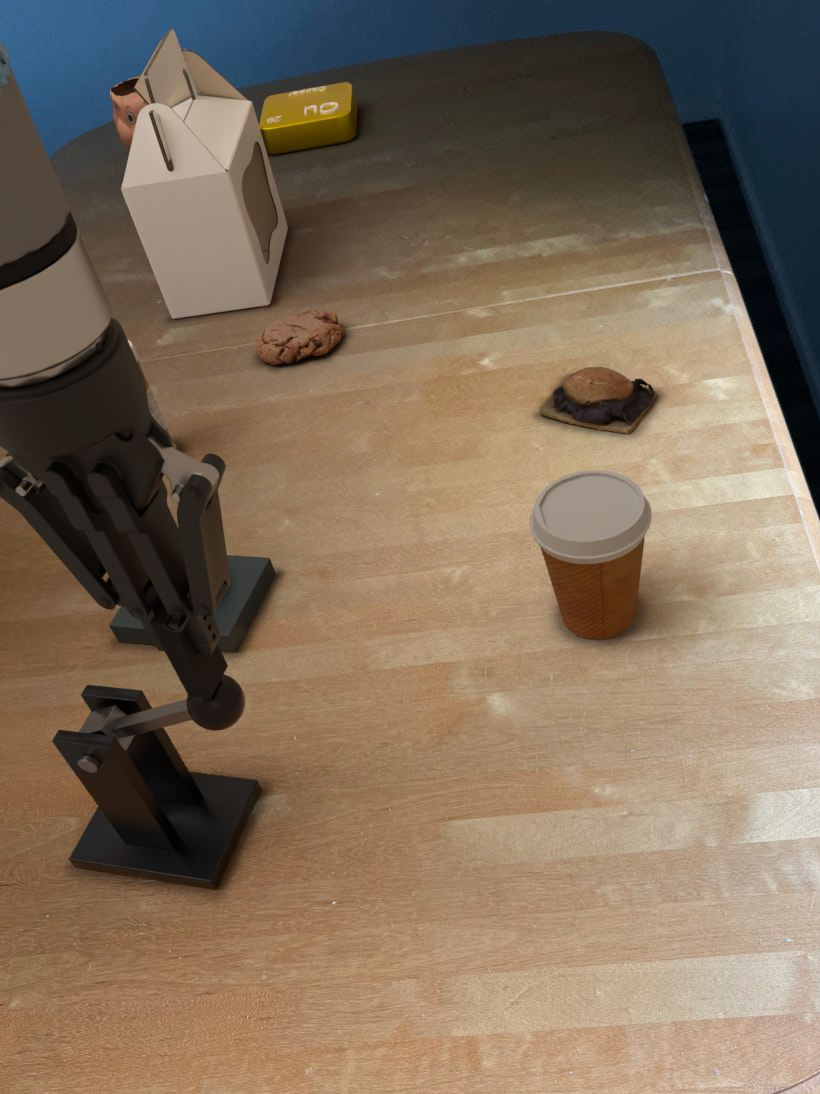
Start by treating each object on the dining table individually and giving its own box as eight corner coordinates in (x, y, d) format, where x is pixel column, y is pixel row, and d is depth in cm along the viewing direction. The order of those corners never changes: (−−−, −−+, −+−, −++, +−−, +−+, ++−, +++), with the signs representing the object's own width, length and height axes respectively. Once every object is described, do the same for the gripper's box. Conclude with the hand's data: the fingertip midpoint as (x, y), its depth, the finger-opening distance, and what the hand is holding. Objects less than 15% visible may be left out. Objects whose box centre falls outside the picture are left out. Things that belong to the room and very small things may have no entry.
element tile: (358, 106, 179) (351, 76, 176) (356, 141, 169) (349, 110, 166) (271, 122, 180) (263, 92, 177) (265, 157, 170) (256, 126, 167)
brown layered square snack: (535, 419, 111) (531, 389, 108) (571, 375, 115) (568, 345, 113) (628, 439, 106) (626, 408, 104) (662, 392, 111) (661, 362, 108)
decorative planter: (136, 156, 178) (104, 68, 168) (207, 140, 179) (179, 51, 169) (134, 204, 164) (98, 111, 154) (211, 186, 165) (180, 93, 155)
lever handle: (264, 692, 68) (227, 656, 66) (243, 736, 65) (204, 701, 64) (125, 730, 76) (88, 699, 74) (102, 770, 73) (63, 739, 71)
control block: (117, 641, 96) (100, 611, 94) (164, 566, 103) (149, 536, 100) (236, 652, 93) (221, 621, 90) (276, 574, 100) (264, 542, 97)
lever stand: (262, 788, 83) (203, 672, 73) (216, 890, 77) (146, 779, 67) (127, 771, 86) (54, 658, 76) (74, 867, 80) (-13, 759, 70)
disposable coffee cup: (563, 567, 95) (550, 460, 86) (667, 583, 91) (665, 474, 83) (527, 643, 89) (510, 536, 80) (637, 663, 86) (631, 554, 77)
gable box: (199, 241, 152) (124, 28, 132) (288, 227, 151) (226, 10, 131) (171, 321, 137) (81, 94, 117) (270, 307, 136) (197, 75, 115)
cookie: (243, 354, 128) (236, 332, 126) (310, 314, 133) (303, 292, 131) (293, 379, 123) (286, 357, 121) (360, 337, 127) (355, 314, 125)
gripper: (198, 299, 49) (326, 644, 66) (-37, 301, 52) (142, 629, 69) (125, 393, 44) (283, 740, 61) (-128, 389, 47) (88, 718, 64)
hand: (208, 680), depth 65 cm, fingers closed
